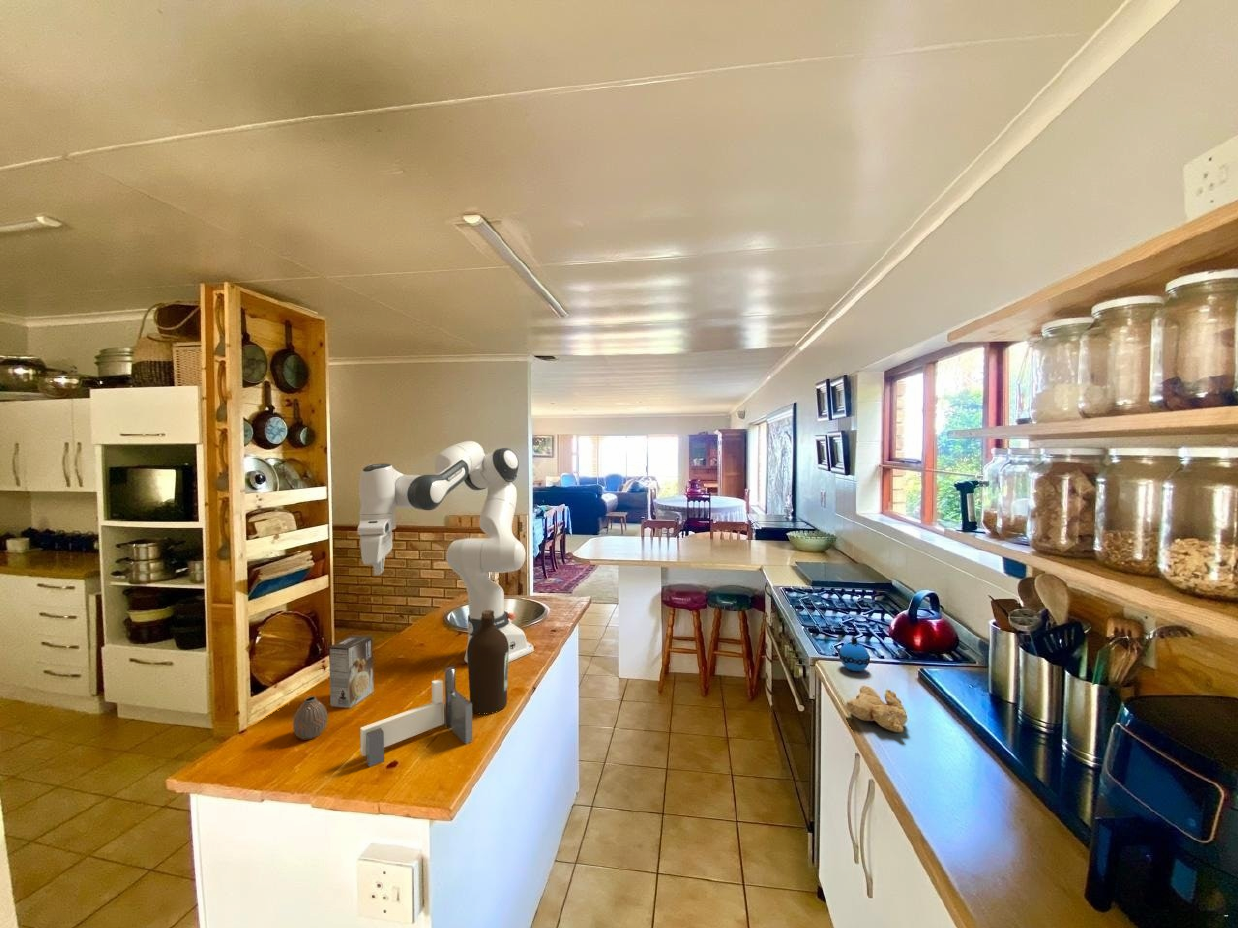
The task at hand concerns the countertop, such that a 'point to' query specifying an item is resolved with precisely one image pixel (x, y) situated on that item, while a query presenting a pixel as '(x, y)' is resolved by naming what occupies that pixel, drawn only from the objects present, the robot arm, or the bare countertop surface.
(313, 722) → the vase
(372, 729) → the gate
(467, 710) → the gate posts
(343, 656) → the coffee box
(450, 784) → the countertop surface
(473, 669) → the olive oil
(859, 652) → the ornament
